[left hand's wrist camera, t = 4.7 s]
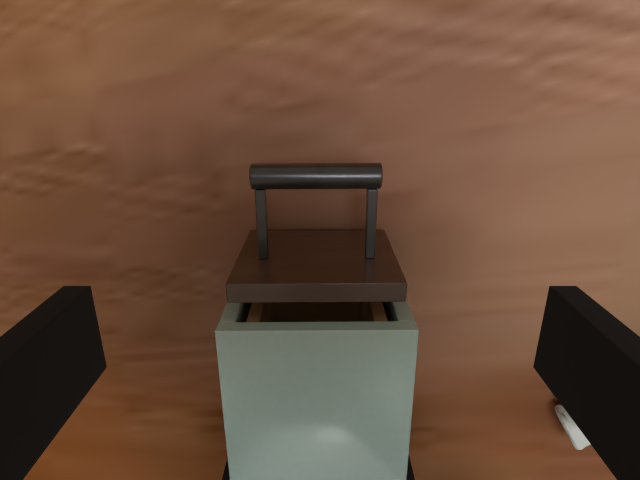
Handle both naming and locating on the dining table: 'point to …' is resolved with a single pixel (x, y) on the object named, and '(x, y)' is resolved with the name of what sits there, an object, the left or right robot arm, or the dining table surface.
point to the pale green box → (317, 396)
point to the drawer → (316, 255)
